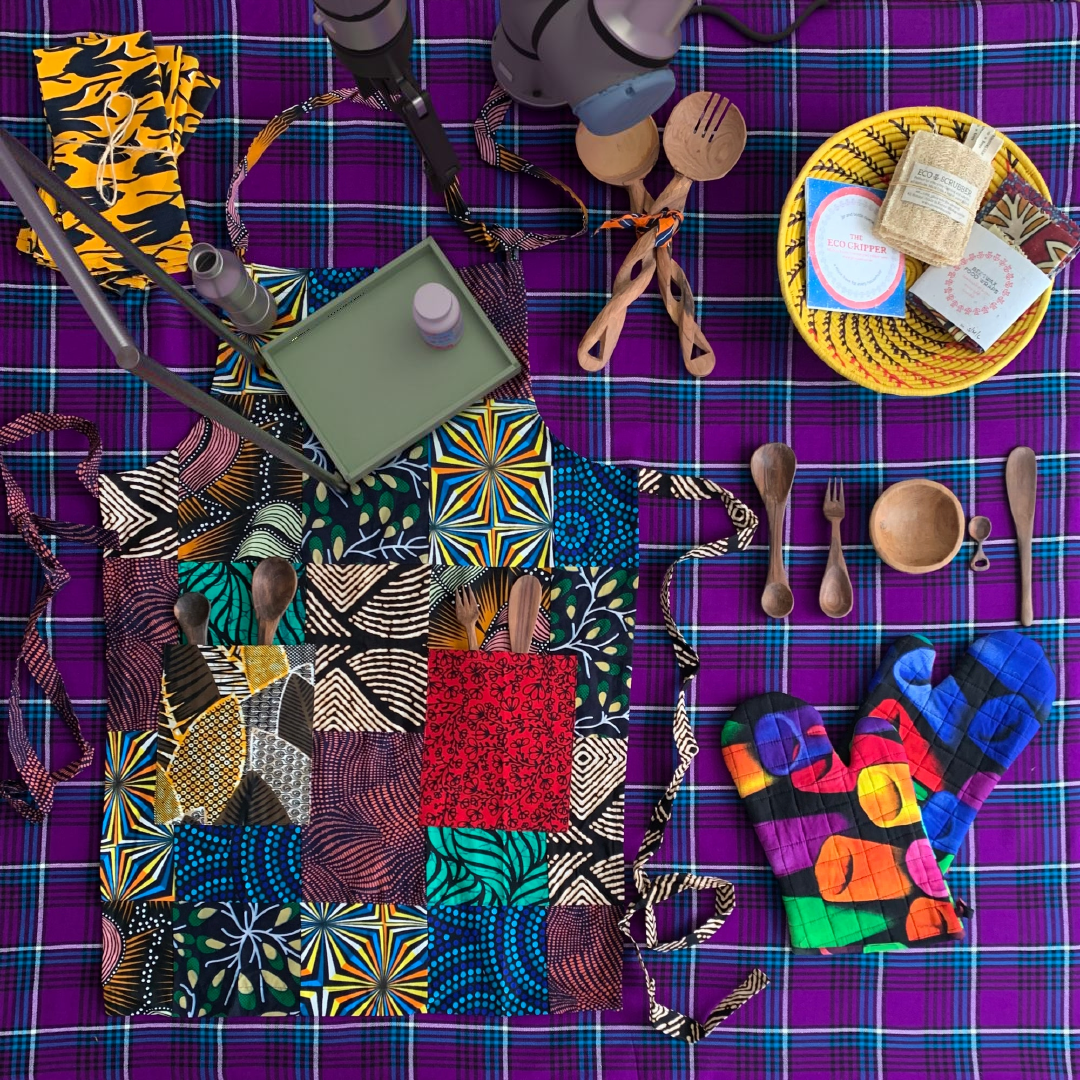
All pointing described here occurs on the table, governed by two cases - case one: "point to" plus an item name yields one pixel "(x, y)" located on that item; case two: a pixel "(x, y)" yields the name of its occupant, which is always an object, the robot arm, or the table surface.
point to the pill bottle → (438, 316)
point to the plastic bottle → (232, 288)
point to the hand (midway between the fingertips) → (408, 138)
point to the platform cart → (300, 342)
